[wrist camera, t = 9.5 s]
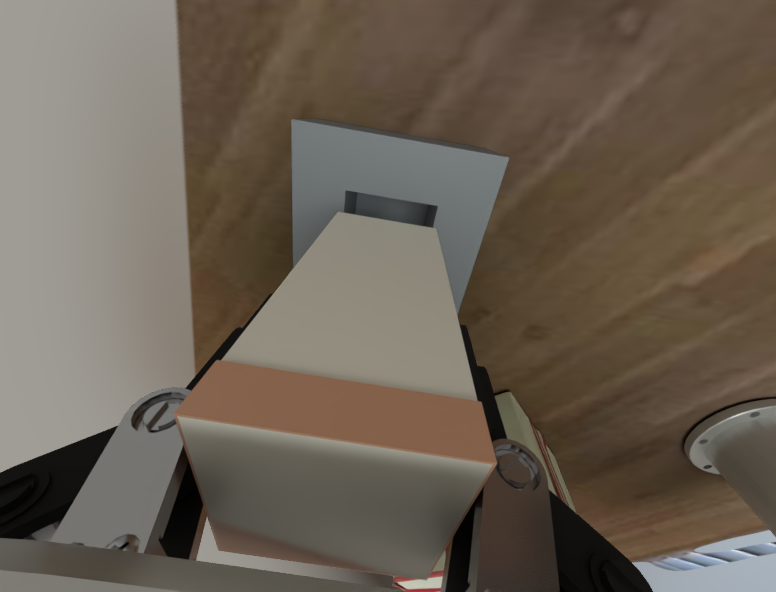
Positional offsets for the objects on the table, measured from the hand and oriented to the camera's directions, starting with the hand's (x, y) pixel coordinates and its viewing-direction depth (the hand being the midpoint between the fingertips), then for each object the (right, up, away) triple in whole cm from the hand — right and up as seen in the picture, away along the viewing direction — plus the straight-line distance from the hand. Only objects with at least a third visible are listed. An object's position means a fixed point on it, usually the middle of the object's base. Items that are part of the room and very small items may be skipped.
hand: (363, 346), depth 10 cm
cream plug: (0, +4, +6) cm, 7 cm away
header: (0, +2, +18) cm, 18 cm away
